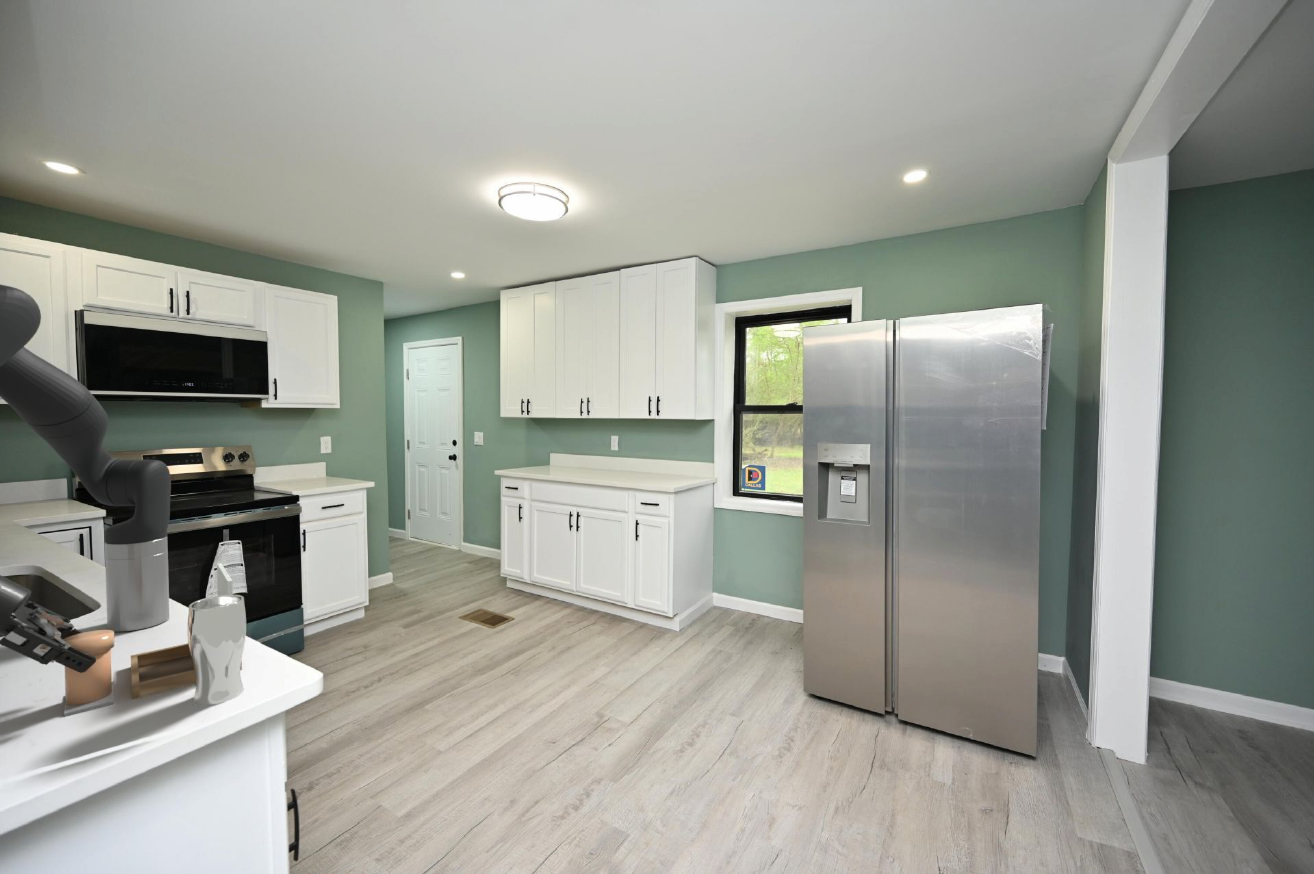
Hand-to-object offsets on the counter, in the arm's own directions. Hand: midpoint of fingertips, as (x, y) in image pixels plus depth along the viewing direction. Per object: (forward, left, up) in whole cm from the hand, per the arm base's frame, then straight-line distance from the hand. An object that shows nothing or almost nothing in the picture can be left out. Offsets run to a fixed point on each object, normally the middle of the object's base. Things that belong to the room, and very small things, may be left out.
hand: (91, 656), depth 83 cm
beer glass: (+11, +14, -7) cm, 19 cm away
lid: (-3, +16, 0) cm, 16 cm away
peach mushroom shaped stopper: (0, 0, -6) cm, 6 cm away
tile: (0, 0, -7) cm, 7 cm away
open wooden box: (-3, +11, -7) cm, 13 cm away
